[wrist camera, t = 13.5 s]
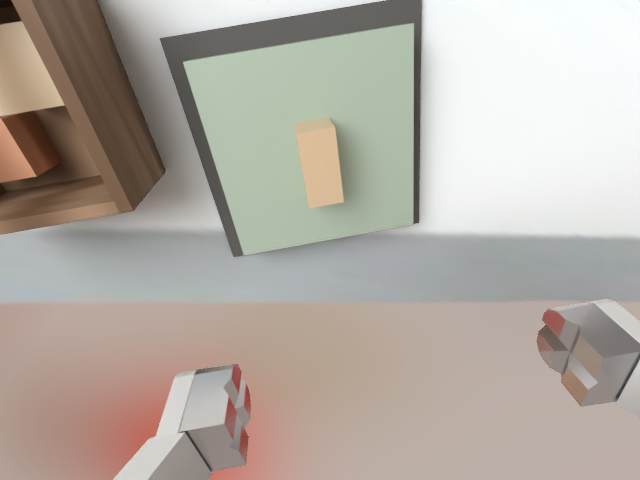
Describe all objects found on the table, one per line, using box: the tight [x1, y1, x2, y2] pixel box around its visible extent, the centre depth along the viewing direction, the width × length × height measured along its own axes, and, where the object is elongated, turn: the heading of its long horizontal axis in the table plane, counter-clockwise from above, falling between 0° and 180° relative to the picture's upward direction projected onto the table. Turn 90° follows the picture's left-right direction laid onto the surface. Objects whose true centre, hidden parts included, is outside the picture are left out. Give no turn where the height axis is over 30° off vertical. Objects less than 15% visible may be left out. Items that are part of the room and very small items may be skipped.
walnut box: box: [0, 0, 165, 235], centre depth 20 cm, size 12×12×7 cm
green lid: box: [183, 23, 414, 255], centre depth 24 cm, size 14×14×5 cm
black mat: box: [160, 0, 421, 257], centre depth 26 cm, size 17×17×1 cm
